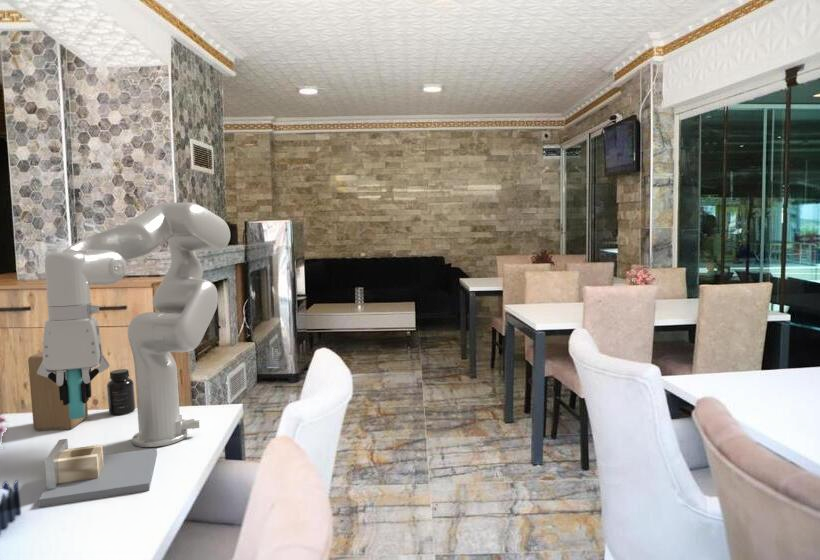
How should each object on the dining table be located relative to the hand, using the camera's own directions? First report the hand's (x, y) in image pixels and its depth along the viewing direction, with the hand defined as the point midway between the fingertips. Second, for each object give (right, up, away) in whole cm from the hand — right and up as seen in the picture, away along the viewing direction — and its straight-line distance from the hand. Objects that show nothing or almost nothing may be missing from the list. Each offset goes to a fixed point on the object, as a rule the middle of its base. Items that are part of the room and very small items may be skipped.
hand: (76, 401), depth 120 cm
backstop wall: (-4, -16, 0) cm, 16 cm away
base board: (+4, -17, +3) cm, 17 cm away
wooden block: (-25, -14, +38) cm, 48 cm away
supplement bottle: (-14, -13, +48) cm, 52 cm away
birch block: (0, -15, +2) cm, 15 cm away
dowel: (0, -3, 0) cm, 3 cm away
